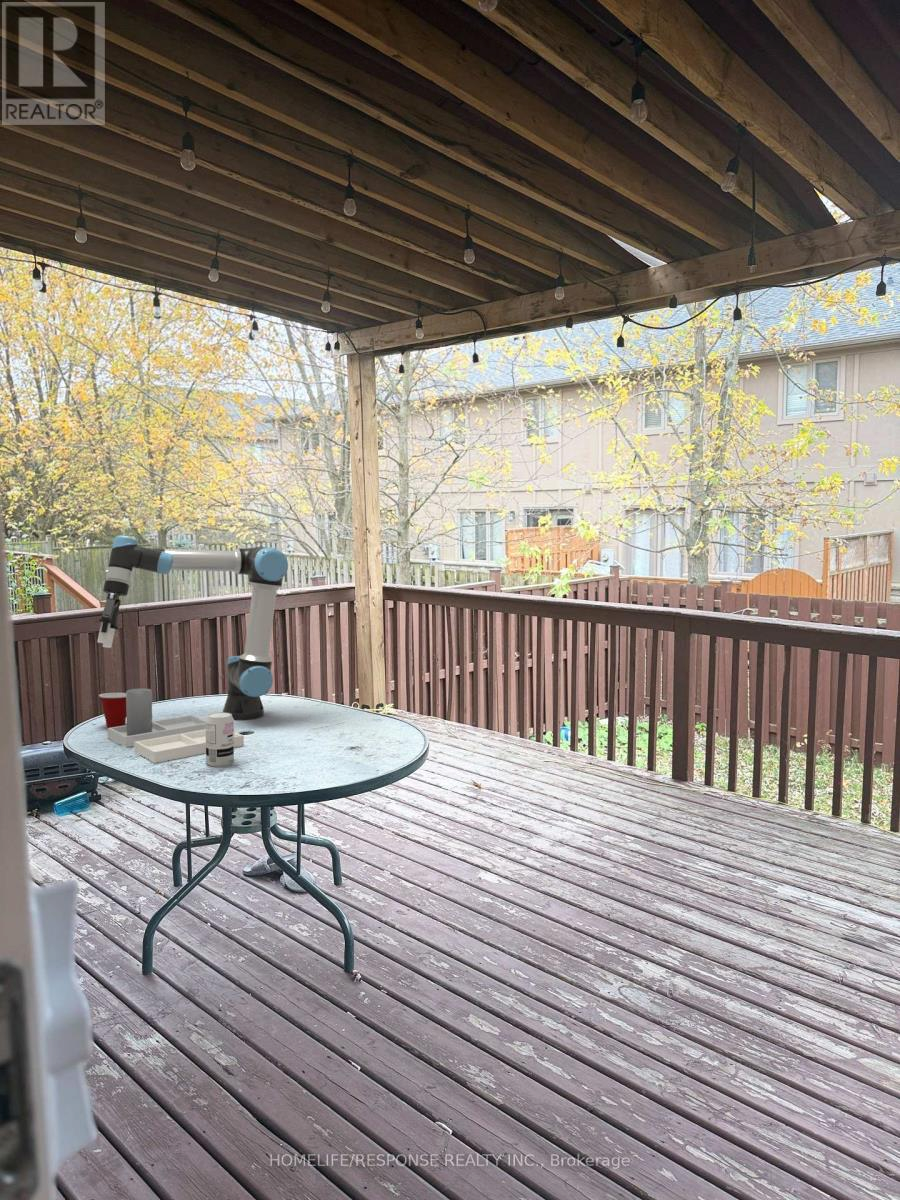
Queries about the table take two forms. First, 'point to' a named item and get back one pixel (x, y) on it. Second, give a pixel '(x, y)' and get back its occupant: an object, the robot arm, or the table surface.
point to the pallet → (177, 746)
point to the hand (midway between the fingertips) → (104, 645)
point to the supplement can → (219, 739)
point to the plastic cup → (114, 709)
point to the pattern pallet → (158, 729)
